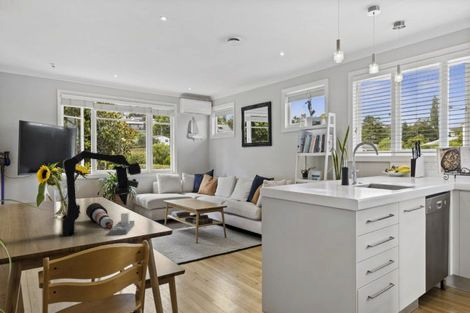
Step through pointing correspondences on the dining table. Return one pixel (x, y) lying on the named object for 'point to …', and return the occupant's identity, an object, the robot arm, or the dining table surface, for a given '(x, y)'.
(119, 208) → the dining table surface
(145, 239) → the dining table surface
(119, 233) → the grey hollow box
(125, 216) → the white block
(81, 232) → the dining table surface
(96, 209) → the cable
